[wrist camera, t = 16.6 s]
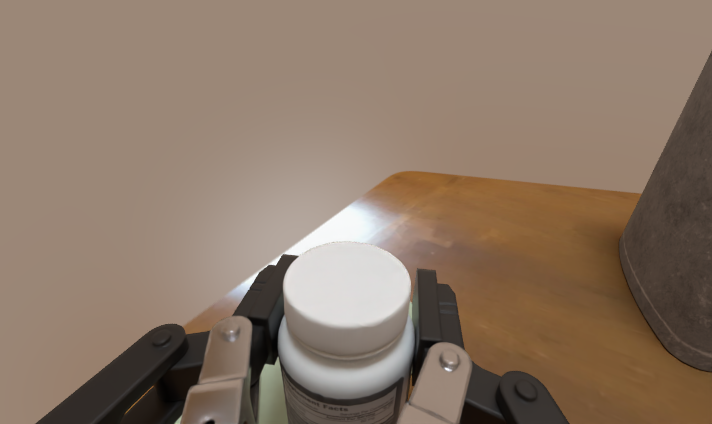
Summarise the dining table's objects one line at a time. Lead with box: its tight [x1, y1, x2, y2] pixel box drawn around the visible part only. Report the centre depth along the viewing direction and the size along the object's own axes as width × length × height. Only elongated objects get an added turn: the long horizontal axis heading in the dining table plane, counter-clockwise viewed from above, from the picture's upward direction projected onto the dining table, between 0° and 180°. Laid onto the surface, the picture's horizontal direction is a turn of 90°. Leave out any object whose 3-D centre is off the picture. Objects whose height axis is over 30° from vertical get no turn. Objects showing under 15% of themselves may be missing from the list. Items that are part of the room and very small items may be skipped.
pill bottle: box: [278, 241, 415, 424], centre depth 12 cm, size 5×5×8 cm
